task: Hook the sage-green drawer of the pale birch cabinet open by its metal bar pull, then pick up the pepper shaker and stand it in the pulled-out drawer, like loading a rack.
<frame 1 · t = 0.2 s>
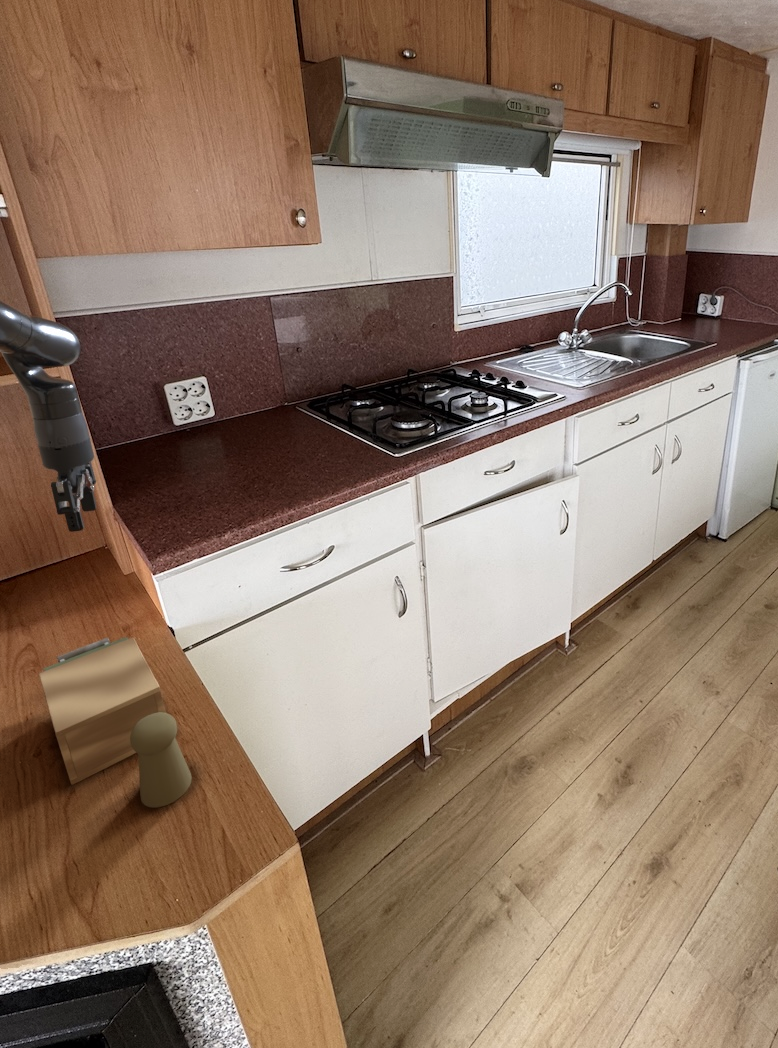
hand: (83, 520, 108), 19 cm above the counter, tool pointing down, fingers open, 8 cm apart
cabinet: (111, 728, 86), on the counter
pepper shaker: (166, 787, 77), on the counter
drawer: (97, 684, 88), point 5 cm above the counter, slide at 1.0 cm
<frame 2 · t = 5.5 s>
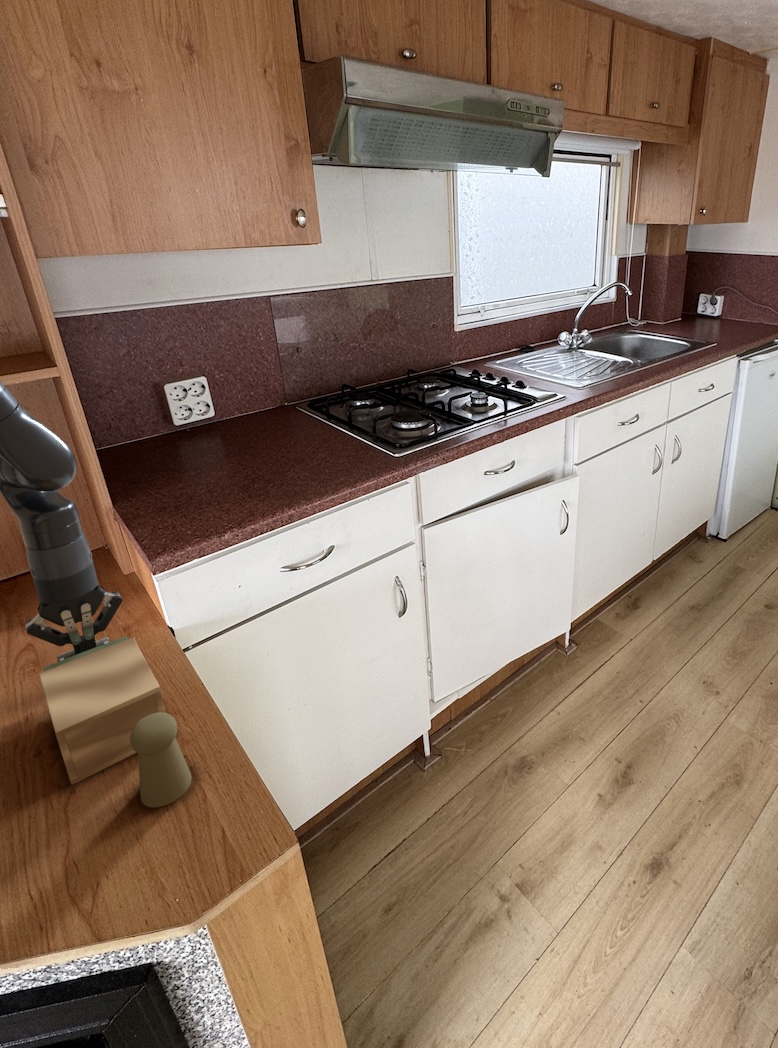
hand: (87, 657, 94), 5 cm above the counter, tool pointing down, fingers closed
drawer: (96, 683, 89), point 5 cm above the counter, slide at 1.3 cm, touching gripper
everything else where it was.
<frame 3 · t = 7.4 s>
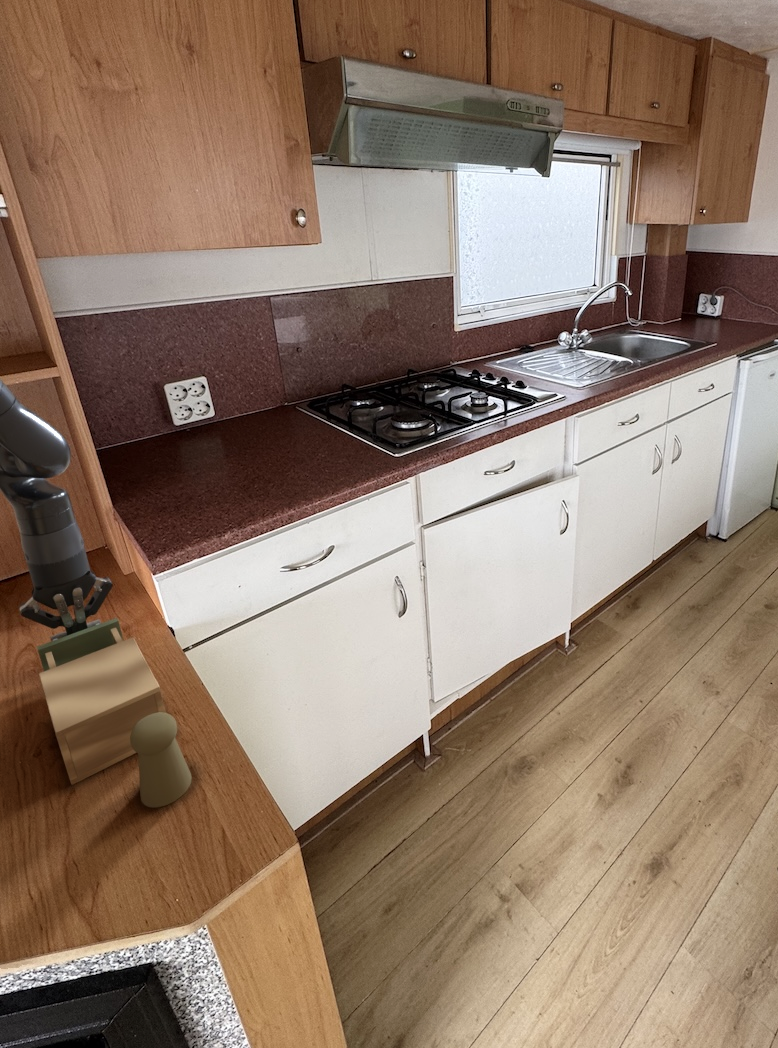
hand: (79, 640, 98), 5 cm above the counter, tool pointing down, fingers closed
drawer: (88, 662, 93), point 5 cm above the counter, slide at 7.7 cm
everything else where it was.
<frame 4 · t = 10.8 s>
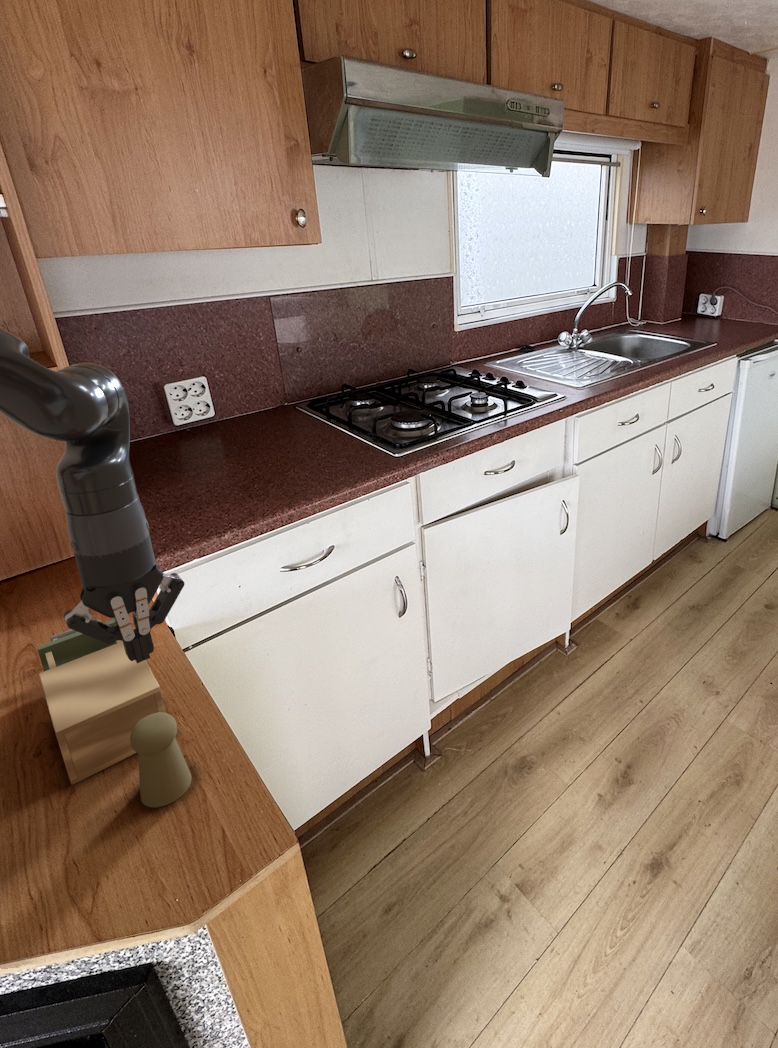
hand: (141, 657, 73), 19 cm above the counter, tool pointing down, fingers closed
nothing on the counter moved.
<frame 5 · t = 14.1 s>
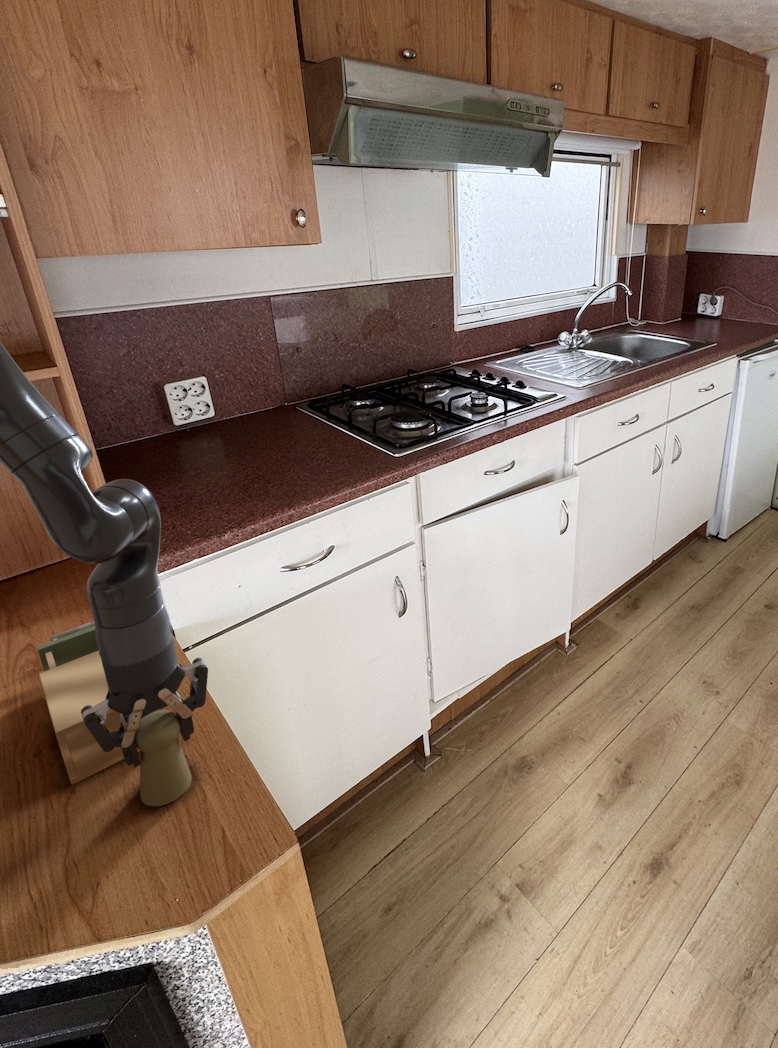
hand: (160, 748, 75), 6 cm above the counter, tool pointing down, fingers closed on pepper shaker, 5 cm apart
pepper shaker: (166, 787, 77), on the counter, touching gripper
everything else where it was.
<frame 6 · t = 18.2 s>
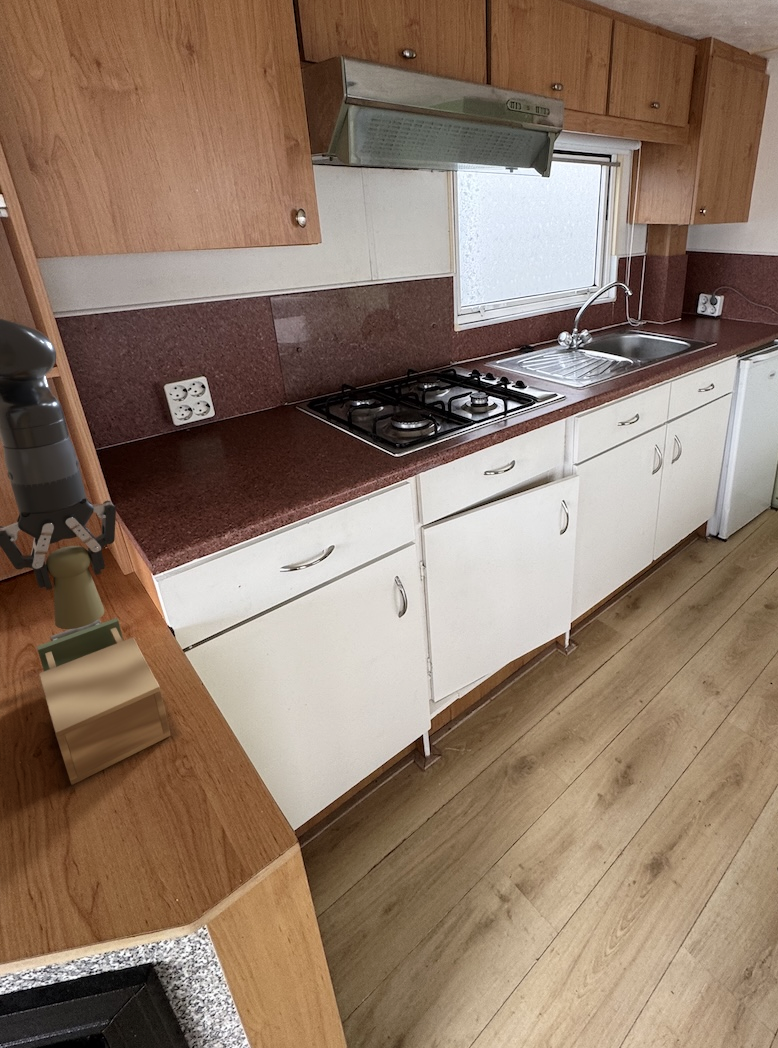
hand: (73, 579, 84), 22 cm above the counter, tool pointing down, fingers closed on pepper shaker, 5 cm apart
pepper shaker: (80, 617, 86), point 16 cm above the counter, touching gripper
everything else where it was.
when the fingers open (8 cm above the counter, at t = 22.2 s): pepper shaker stays where it is, resting on drawer.
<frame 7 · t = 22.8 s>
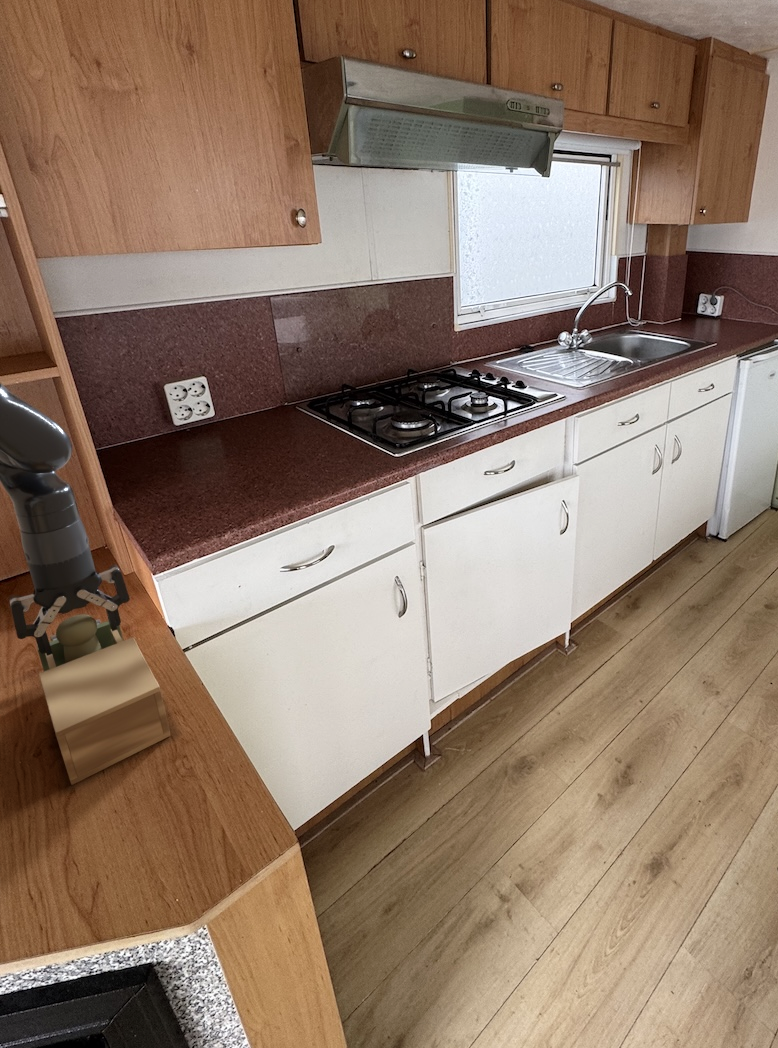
hand: (82, 640, 91), 9 cm above the counter, tool pointing down, fingers open, 8 cm apart
pepper shaker: (90, 678, 93), point 2 cm above the counter, touching drawer
drawer: (88, 661, 93), point 5 cm above the counter, slide at 7.7 cm, touching pepper shaker
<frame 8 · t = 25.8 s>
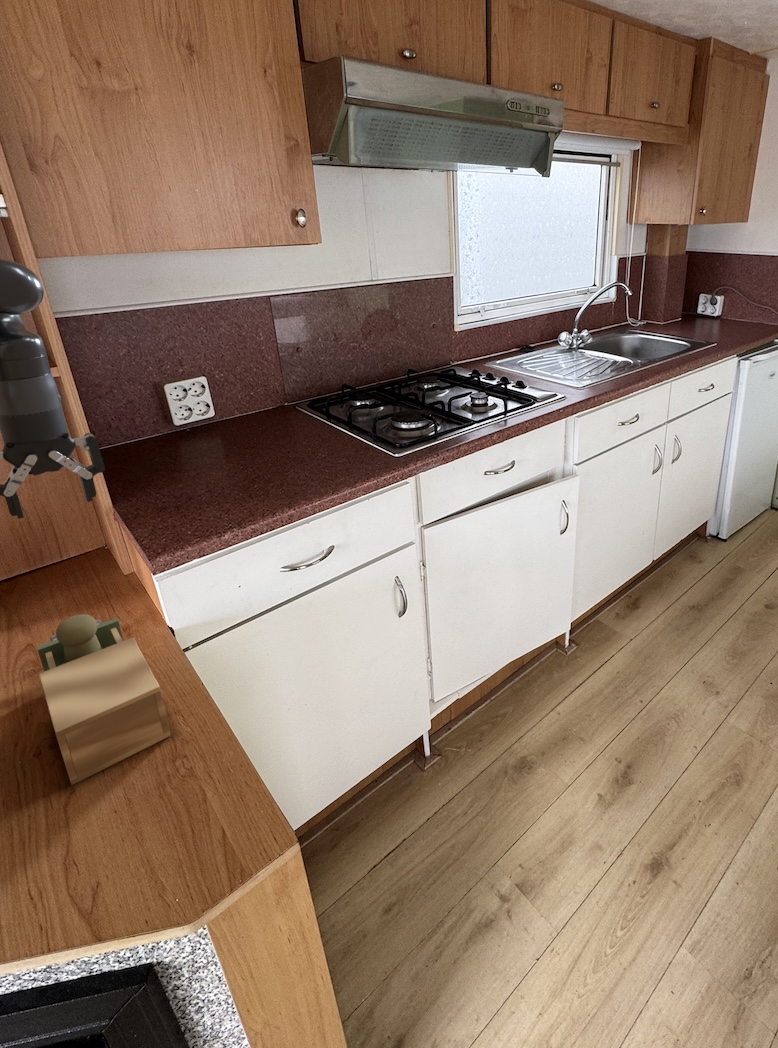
hand: (55, 508, 88), 30 cm above the counter, tool pointing down, fingers open, 8 cm apart
nothing on the counter moved.
at the end: drawer slide at 7.7 cm; pepper shaker inside the target area in the drawer (0.6 cm from its centre), point 1.8 cm above the cabinet's base; pepper shaker tilted 0° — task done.
